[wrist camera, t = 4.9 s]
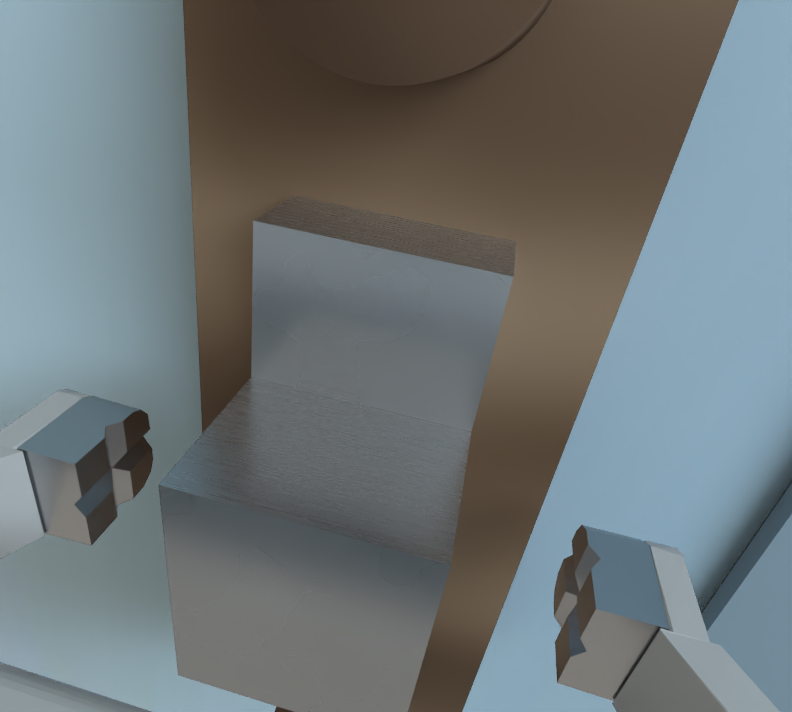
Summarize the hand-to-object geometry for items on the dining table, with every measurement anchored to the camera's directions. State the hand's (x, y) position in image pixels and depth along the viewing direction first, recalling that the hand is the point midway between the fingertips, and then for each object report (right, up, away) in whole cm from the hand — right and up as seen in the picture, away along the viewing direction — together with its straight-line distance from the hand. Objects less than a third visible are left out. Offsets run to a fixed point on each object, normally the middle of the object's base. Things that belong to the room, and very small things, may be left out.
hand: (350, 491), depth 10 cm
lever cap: (0, +1, +1) cm, 1 cm away
